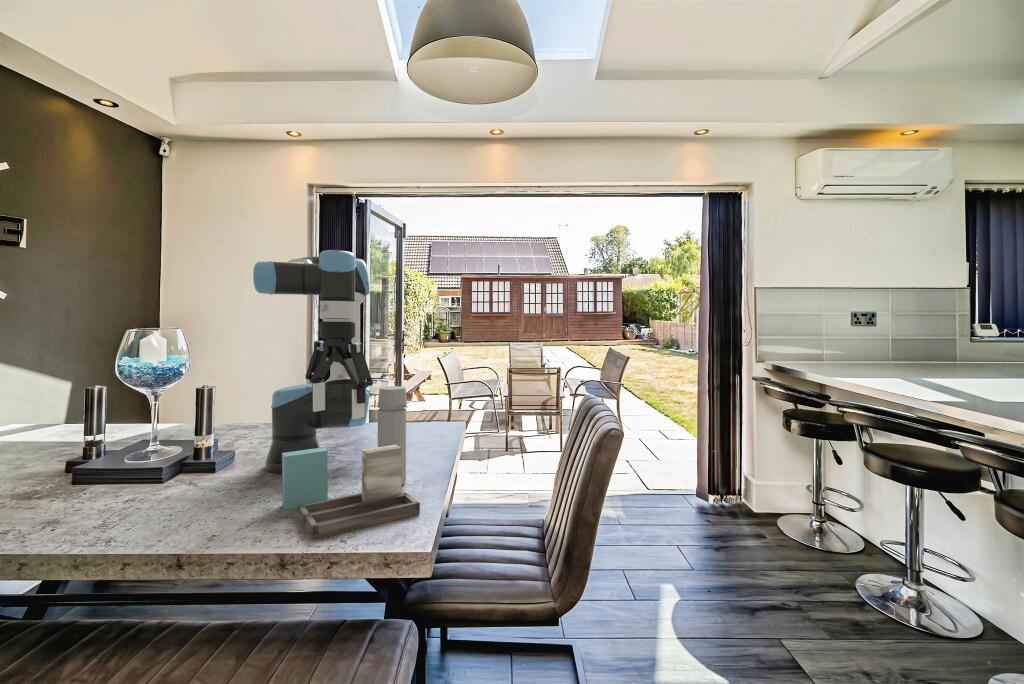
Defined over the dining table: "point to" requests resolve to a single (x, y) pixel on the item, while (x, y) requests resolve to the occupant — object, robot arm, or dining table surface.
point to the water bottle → (393, 421)
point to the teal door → (304, 477)
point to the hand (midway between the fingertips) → (337, 414)
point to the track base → (364, 498)
